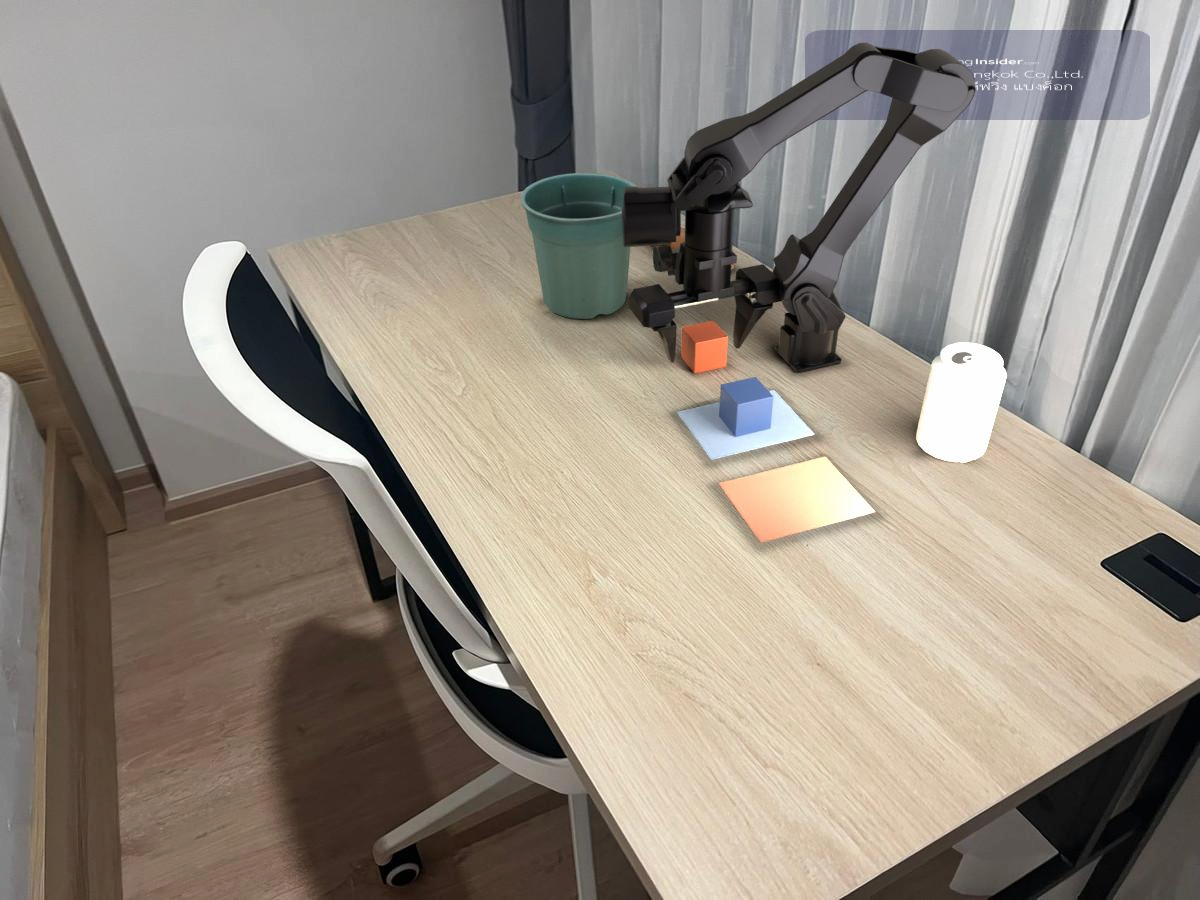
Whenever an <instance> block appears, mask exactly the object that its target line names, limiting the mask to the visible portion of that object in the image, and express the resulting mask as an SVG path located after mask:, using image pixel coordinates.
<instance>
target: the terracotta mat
mask: <svg viewBox="0 0 1200 900" xmlns="http://www.w3.org/2000/svg"><path fill="white" fill-rule="evenodd" d="M717 484H718V485H719V487H720V488H721V489H722V491H723V493H724V494H725V495H726V497H727V498H728V499H729V501H730V503H731V504H732V505H733V506H734V508H735V509H736V511H737V512H738V513H739V515H740V517H741V518H742V519H743V520H744V522H745V524H746V525H747V526H748V527H749V529H750V530H751V532H752V534H753V535H754V536H755V537H756V539H757V540H758V542H759V543H760V544H763V543H765V542H769V541H773V540H778V539H781V538H784V537H787V536H792V535H796V534H800V533H803V532H807V531H810V530H814V529H818V528H821V527H825V526H829V525H832V524H836V523H839V522H844V521H847V520H851V519H856V518H858V517H863V516H866V515H869V514H872V513H876V511H875V509H874V508H872V506H871V505H870V504H869V503H868V502H867V501H866V500H865V498H864V497H862V495H861V494H860V493H859V492H858V491H857V489H855V487H853V485H852V484H851V483H850V482H849V481H848V479H847V478H846V477H845V476H844V475H843V474H842V473H841V472H840V471H839V469H838V468H837V467H836V466H835V465H834V464H833V463H832V462H831V460H830V459H829V458H828V457H827V456H825V455H824V456H821V457H816V458H813V459H809V460H805V461H802V462H801V461H800V462H797V463H793V464H789V465H784V466H781V467H777V468H773V469H768V470H764V471H762V472H757V473H753V474H749V475H744V476H742V477H741V476H740V477H737V478H734V479H729V480H724V481H720V482H718V483H717Z"/></svg>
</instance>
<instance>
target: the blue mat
mask: <svg viewBox="0 0 1200 900" xmlns="http://www.w3.org/2000/svg"><path fill="white" fill-rule="evenodd" d="M768 391H769V392H770V393H771V394H772V395H773V397H774V398H773V408H772V419H771V428H770V429H767V430H763V431H759V432H755V433H751V434H746V435H742V436H738V437H735V436H734V435H733V433H732V432H731V431H730V430H729V428H728V427H727V426H726V425H725V423H724V422H723V421H722V419H721V418H720V417H719V407H720V401H718V402H714V403H708V404H704V405H701V406H696V407H691V408H687V409H682V410H677V411H676V414H677V415H678V416H679V418H680V419H681V420H682V422H683V423H684V425H685V426H686V427H687V429H688V430H689V431H690V433H691V435H692V436H693V437H694V439H695V440H696V441H697V442H698V444H699V446H701V448H702V450H703V451H704V452H705V454H706V455H707V456H708V458H709V459H710V460H711V461H712V460H716V459H721V458H725V457H729V456H733V455H736V454H740V453H741V454H742V453H745V452H750V451H752V450H757V449H761V448H765V447H770V446H773V445H778V444H782V443H785V442H786V443H787V442H790V441H795V440H798V439H802V438H806V437H807V438H808V437H811V436H814V435H816V434H815V433H814V431H813V430H812V429H811V428H810V426H808V425H807V424H806V423H805V422H804V420H803V419H802V418H801V417H800V416H799V415H798V414H797V412H795V411H794V410H793V409H792V407H791V406H790V405H789V404H788V403H787V402H786V401H785V399H783V397H782V396H781V395H780V394H779V393H778V392H777V391H776V390H775V389H770V390H768Z"/></svg>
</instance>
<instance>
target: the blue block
mask: <svg viewBox="0 0 1200 900" xmlns="http://www.w3.org/2000/svg"><path fill="white" fill-rule="evenodd" d="M769 391H770V390H768V389H767V388H766V386H765V385H764V384H763V383H762V382H761V381H760V380H759V379H758V377H756V376H754V377H749V378H745V379H740V380H735V381H731V382H727V383H721V384H720V391H719V402H720V407H719V417H720V418H721V419H722V421H723V422H724V423H725V425H726V426H727V427H728V428H729V430H730V431H731V432H732V433H733V435H734V436H735V437H738V436H742V435H746V434H751V433H755V432H759V431H763V430H767V429H770V428H771V419H772V408H773V398H774V397H773V395H772V394H771V393H770V392H769Z"/></svg>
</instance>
